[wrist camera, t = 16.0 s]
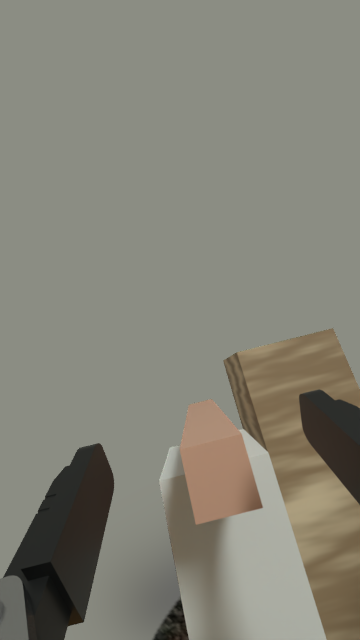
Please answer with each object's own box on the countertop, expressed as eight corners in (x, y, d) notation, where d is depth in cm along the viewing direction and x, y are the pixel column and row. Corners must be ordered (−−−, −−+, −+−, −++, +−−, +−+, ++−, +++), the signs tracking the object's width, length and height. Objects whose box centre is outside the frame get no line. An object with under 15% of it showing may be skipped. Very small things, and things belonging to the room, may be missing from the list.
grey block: (416, 926, 12) (268, 452, 18) (251, 974, 12) (159, 481, 18) (321, 695, 21) (243, 428, 27) (226, 721, 20) (169, 447, 26)
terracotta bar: (263, 507, 11) (241, 433, 12) (195, 524, 11) (179, 449, 12) (218, 423, 33) (211, 398, 33) (194, 429, 33) (189, 404, 33)
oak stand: (461, 620, 23) (332, 328, 32) (331, 656, 23) (236, 352, 31) (361, 531, 37) (290, 343, 45) (279, 553, 36) (223, 360, 45)
